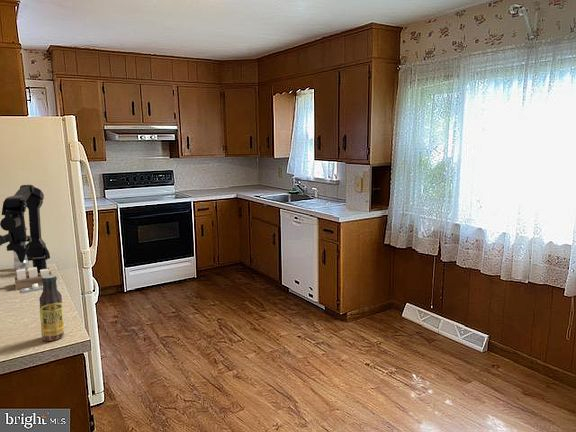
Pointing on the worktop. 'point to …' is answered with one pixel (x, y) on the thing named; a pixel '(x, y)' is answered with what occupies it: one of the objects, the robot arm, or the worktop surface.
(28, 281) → the board
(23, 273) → the button
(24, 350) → the worktop surface
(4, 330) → the worktop surface
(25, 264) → the plastic bottle
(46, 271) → the button
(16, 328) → the worktop surface
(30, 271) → the button middle
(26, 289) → the card
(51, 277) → the sauce bottle
